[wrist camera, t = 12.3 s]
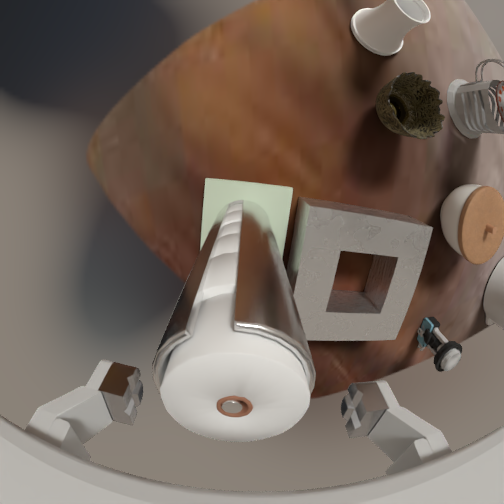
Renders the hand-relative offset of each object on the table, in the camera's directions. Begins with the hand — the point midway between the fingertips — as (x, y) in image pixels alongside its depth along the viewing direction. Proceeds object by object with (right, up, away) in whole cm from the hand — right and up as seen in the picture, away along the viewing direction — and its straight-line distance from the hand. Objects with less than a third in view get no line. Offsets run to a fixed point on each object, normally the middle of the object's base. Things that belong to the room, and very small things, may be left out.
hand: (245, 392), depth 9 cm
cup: (+17, +23, +19) cm, 35 cm away
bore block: (+13, +3, +26) cm, 29 cm away
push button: (+30, -9, +31) cm, 44 cm away
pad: (-1, +9, +24) cm, 25 cm away
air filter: (-1, +8, +23) cm, 25 cm away
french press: (+33, +28, +18) cm, 47 cm away
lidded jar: (+31, +11, +24) cm, 41 cm away
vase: (+17, +34, +15) cm, 41 cm away
